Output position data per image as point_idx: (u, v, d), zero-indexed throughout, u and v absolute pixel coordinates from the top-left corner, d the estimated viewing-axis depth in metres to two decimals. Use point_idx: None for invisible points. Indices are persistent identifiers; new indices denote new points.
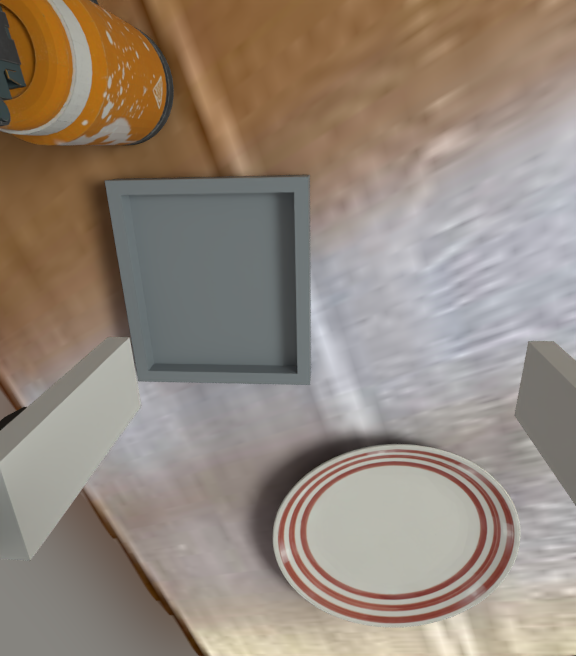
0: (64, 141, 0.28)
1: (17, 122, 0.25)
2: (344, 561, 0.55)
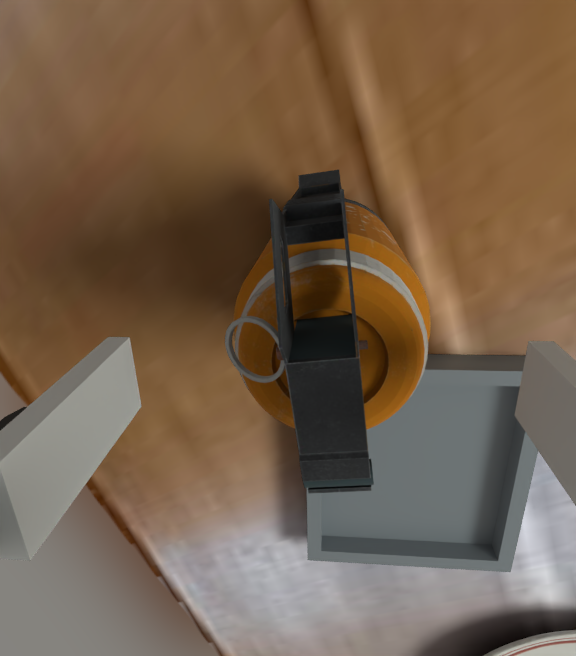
0: None
1: None
2: None
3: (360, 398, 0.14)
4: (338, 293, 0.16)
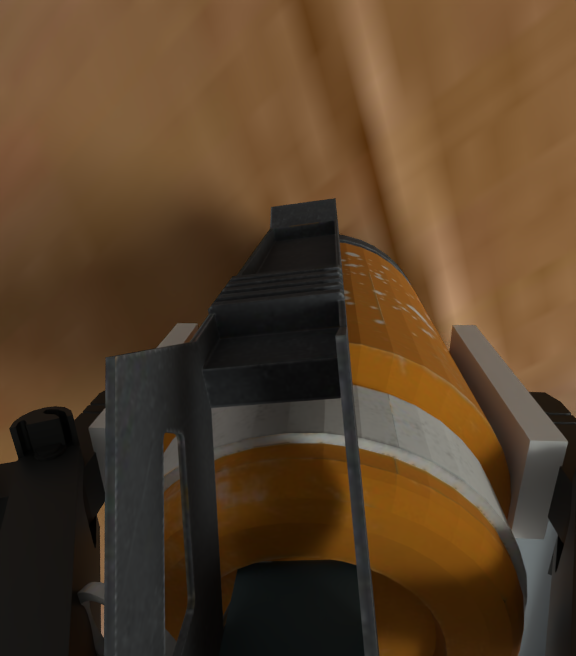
0: None
1: None
2: None
3: None
4: (332, 527, 0.07)
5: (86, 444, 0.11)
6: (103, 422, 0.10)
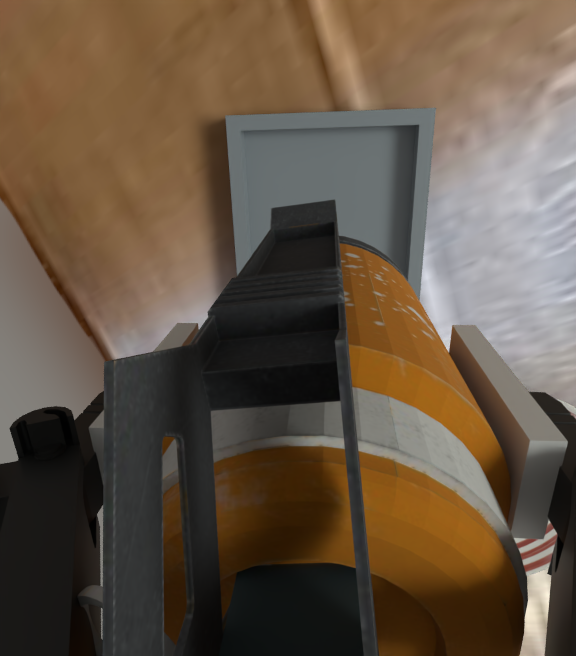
0: None
1: None
2: None
3: None
4: (332, 531, 0.07)
5: (86, 444, 0.11)
6: (103, 422, 0.10)
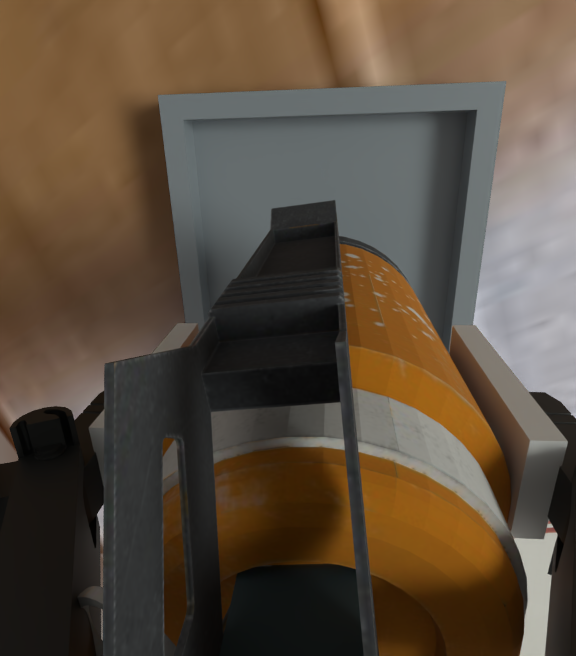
0: None
1: None
2: None
3: None
4: (332, 532, 0.07)
5: (86, 444, 0.11)
6: (103, 422, 0.10)
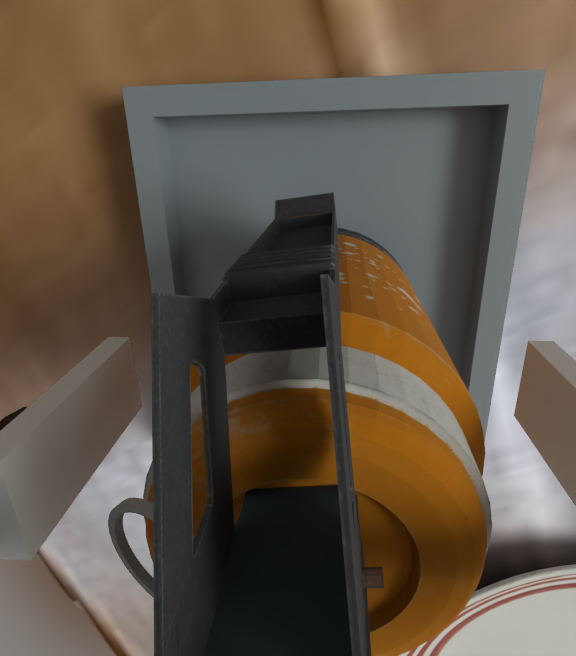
0: None
1: None
2: None
3: None
4: (324, 453, 0.08)
5: None
6: None
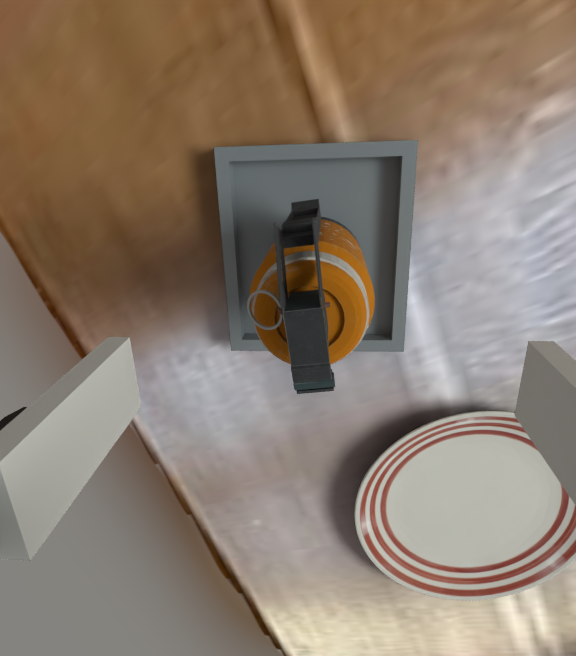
0: None
1: None
2: (421, 534, 0.55)
3: (324, 331, 0.26)
4: (313, 276, 0.28)
5: None
6: None
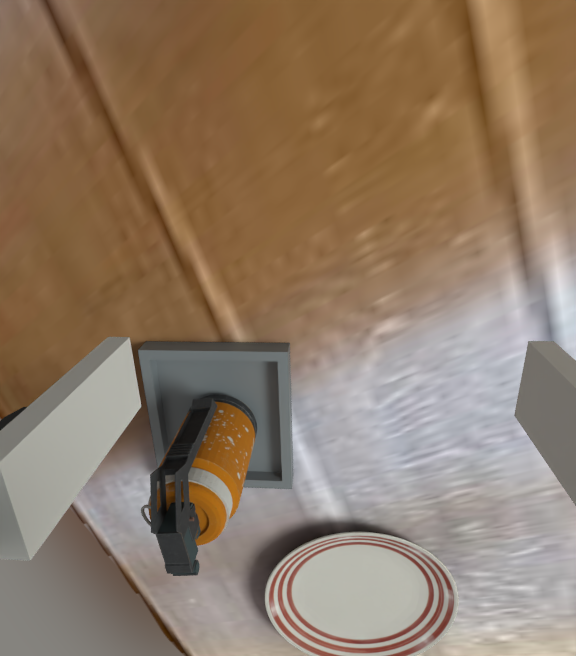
0: None
1: None
2: (322, 614, 0.69)
3: (183, 545, 0.39)
4: None
5: None
6: None
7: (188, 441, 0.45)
